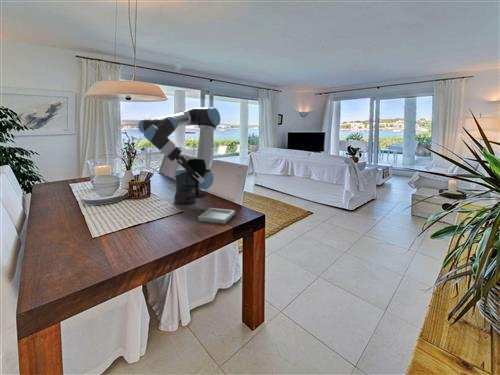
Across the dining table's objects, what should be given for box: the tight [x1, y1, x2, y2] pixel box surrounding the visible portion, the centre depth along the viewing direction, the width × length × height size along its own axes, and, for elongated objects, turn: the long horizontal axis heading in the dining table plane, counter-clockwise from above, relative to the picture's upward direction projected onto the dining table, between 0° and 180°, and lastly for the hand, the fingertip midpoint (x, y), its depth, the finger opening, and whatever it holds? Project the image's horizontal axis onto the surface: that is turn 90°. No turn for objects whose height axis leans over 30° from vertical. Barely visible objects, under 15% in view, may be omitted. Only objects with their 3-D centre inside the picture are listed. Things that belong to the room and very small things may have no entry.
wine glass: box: [187, 158, 207, 199], centre depth 136 cm, size 10×10×20 cm
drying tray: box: [197, 207, 236, 225], centre depth 143 cm, size 16×16×2 cm
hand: (202, 179), depth 137 cm, fingers closed on wine glass, 10 cm apart
